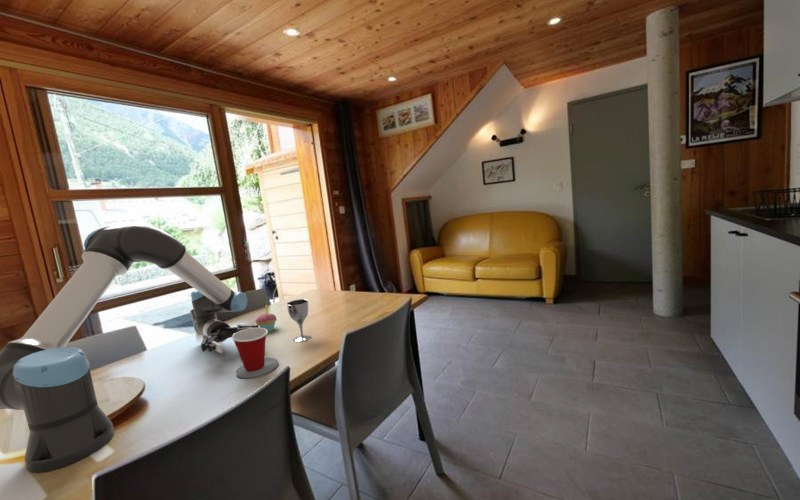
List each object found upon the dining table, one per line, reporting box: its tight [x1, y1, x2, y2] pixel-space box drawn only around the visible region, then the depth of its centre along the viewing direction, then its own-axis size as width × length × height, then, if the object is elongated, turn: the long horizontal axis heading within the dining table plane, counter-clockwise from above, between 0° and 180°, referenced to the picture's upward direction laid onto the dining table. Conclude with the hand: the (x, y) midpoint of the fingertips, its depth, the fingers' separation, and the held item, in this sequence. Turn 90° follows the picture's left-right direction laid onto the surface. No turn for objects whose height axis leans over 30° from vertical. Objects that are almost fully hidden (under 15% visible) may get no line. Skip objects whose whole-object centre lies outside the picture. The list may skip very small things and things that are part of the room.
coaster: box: [235, 357, 279, 380], centre depth 114 cm, size 13×13×1 cm
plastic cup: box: [231, 327, 269, 372], centre depth 113 cm, size 11×11×12 cm
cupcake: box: [255, 303, 277, 332], centre depth 151 cm, size 9×8×12 cm
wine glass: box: [286, 298, 312, 343], centre depth 136 cm, size 8×8×15 cm
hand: (241, 341), depth 120 cm, fingers open, 13 cm apart
